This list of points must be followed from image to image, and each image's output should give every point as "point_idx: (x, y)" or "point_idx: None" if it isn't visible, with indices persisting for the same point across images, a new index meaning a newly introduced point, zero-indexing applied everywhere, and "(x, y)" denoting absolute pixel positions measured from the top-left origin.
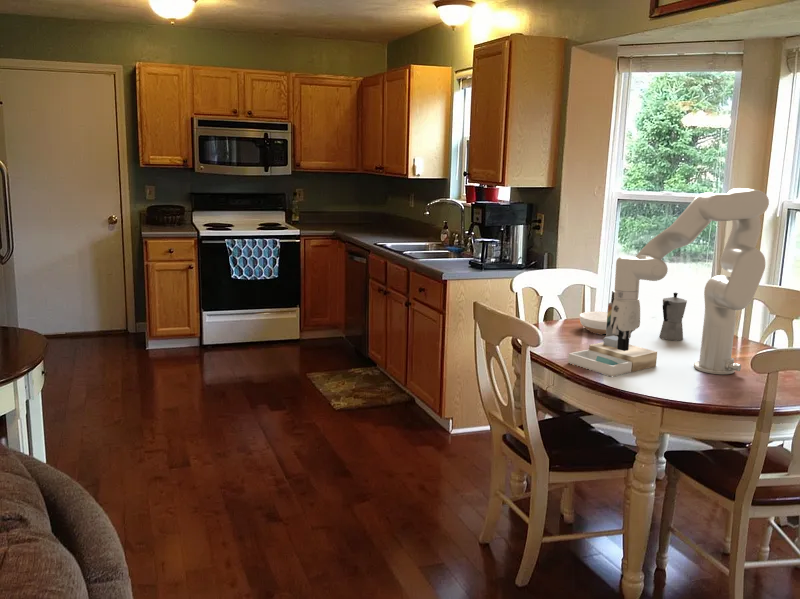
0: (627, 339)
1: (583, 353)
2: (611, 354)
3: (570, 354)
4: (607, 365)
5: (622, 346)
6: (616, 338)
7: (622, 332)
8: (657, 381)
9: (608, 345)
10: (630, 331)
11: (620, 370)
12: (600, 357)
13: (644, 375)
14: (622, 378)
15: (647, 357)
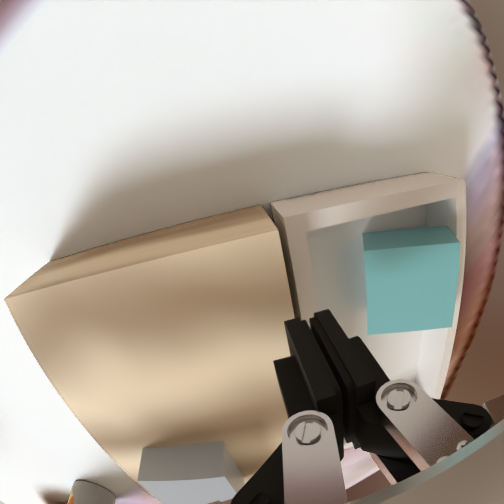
0: (338, 391)
1: None
2: None
3: None
4: (464, 215)
5: (360, 341)
6: (188, 492)
7: (458, 438)
8: (249, 8)
9: (235, 464)
10: (306, 491)
11: (383, 185)
12: (454, 304)
13: (235, 119)
14: (398, 129)
15: (95, 266)
